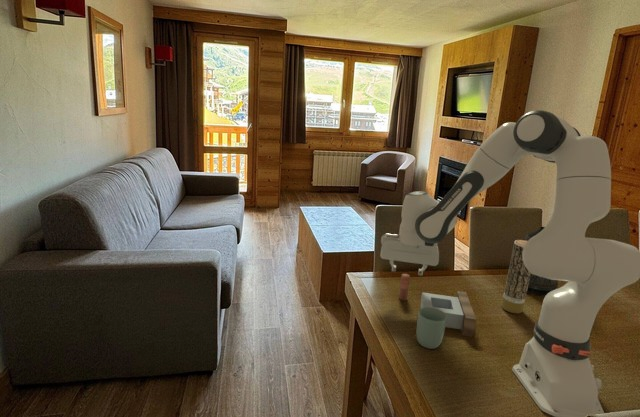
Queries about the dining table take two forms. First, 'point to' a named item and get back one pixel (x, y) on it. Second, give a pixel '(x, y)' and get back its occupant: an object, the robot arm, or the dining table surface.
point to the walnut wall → (466, 314)
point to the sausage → (404, 286)
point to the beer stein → (539, 283)
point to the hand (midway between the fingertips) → (406, 272)
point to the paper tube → (516, 281)
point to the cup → (430, 327)
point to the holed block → (445, 308)
